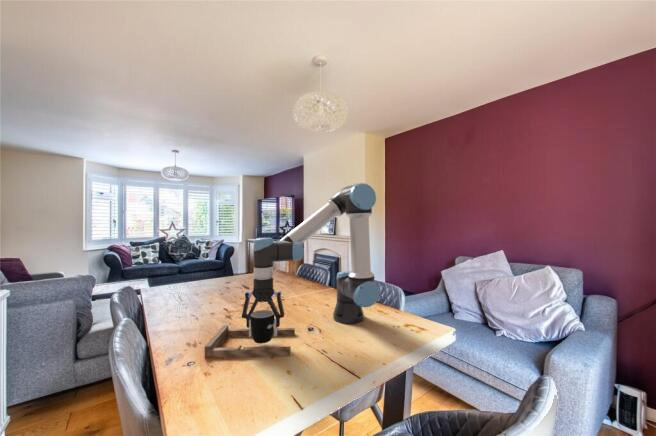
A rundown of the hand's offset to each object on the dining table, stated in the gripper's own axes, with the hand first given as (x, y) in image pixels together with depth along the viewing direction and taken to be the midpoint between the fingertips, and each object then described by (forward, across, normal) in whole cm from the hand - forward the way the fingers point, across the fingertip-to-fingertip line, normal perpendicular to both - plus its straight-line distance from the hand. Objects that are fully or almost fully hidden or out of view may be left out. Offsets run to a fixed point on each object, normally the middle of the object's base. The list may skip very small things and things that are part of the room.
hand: (263, 335), depth 105 cm
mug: (+1, 0, 0) cm, 1 cm away
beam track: (+4, +4, 0) cm, 5 cm away
